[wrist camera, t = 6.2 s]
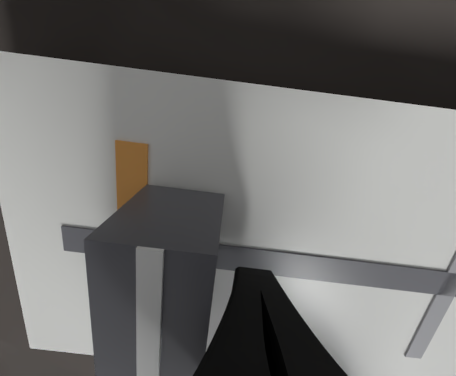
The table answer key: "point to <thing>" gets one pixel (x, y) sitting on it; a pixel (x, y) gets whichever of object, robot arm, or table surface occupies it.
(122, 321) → the fader tab
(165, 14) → the table surface
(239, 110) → the white flat rectangular block
